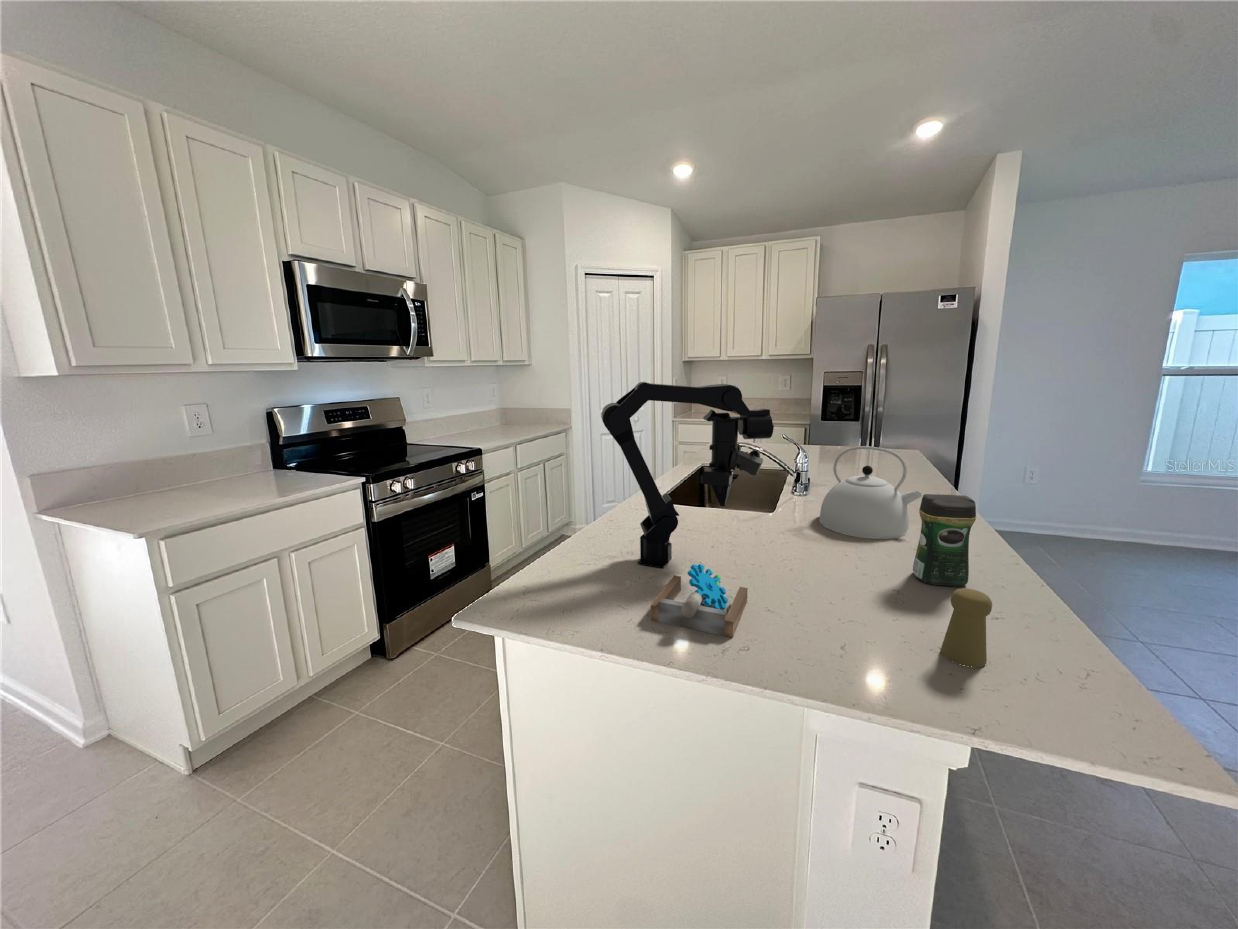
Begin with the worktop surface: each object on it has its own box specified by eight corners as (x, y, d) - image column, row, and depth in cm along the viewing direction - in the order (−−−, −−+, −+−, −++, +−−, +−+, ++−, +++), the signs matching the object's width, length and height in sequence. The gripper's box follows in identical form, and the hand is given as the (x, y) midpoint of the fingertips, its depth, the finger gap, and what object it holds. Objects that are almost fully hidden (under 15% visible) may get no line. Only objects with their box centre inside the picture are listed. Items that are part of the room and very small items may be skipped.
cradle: (647, 624, 88) (647, 596, 86) (673, 588, 101) (674, 564, 100) (730, 643, 81) (731, 613, 80) (747, 602, 95) (748, 576, 94)
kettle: (920, 521, 139) (930, 444, 134) (916, 547, 121) (926, 458, 116) (828, 508, 153) (833, 437, 148) (811, 529, 134) (816, 449, 130)
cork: (931, 646, 80) (939, 584, 77) (966, 644, 80) (975, 582, 78) (959, 669, 74) (969, 603, 71) (996, 666, 74) (1007, 600, 72)
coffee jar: (956, 573, 106) (968, 491, 102) (972, 590, 98) (985, 502, 94) (907, 569, 108) (916, 489, 104) (919, 585, 101) (929, 499, 97)
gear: (717, 614, 87) (684, 568, 91) (694, 630, 90) (663, 584, 93) (739, 597, 97) (708, 555, 100) (717, 612, 99) (689, 571, 103)
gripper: (754, 449, 98) (751, 522, 102) (767, 435, 115) (764, 498, 118) (700, 446, 103) (699, 516, 106) (720, 433, 120) (718, 494, 123)
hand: (722, 505), depth 113 cm, fingers closed
